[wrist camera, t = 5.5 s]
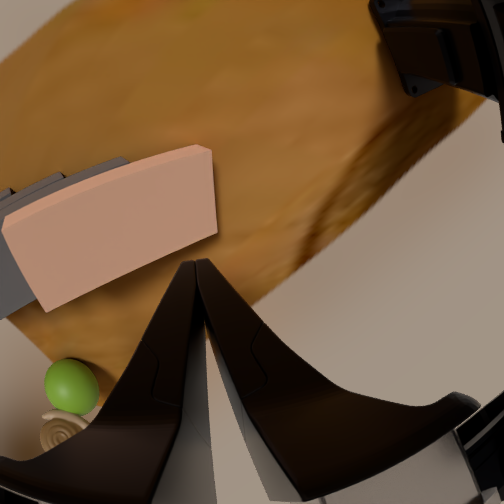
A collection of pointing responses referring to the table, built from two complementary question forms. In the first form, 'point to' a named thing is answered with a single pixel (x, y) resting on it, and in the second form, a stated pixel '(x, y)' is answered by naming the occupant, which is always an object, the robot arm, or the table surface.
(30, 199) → the domino
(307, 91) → the table surface
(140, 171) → the domino
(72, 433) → the snail figurine
